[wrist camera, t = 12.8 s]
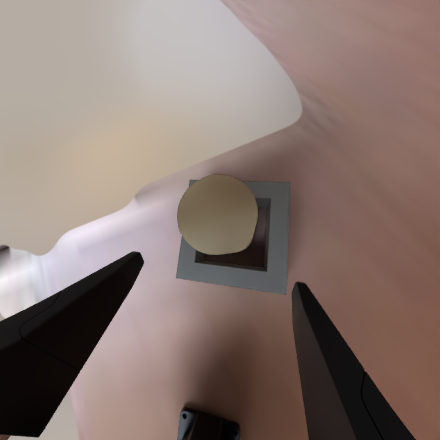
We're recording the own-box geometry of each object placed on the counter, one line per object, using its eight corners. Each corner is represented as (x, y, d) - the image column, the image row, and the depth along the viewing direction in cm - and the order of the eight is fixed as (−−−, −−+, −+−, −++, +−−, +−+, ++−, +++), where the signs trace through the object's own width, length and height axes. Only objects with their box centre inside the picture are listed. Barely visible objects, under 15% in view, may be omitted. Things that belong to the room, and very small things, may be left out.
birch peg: (258, 245, 20) (271, 239, 8) (224, 256, 20) (188, 266, 8) (245, 213, 21) (241, 162, 9) (214, 224, 21) (169, 191, 9)
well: (278, 285, 19) (286, 294, 15) (189, 272, 21) (175, 278, 17) (282, 195, 21) (290, 182, 17) (199, 191, 23) (189, 179, 19)
